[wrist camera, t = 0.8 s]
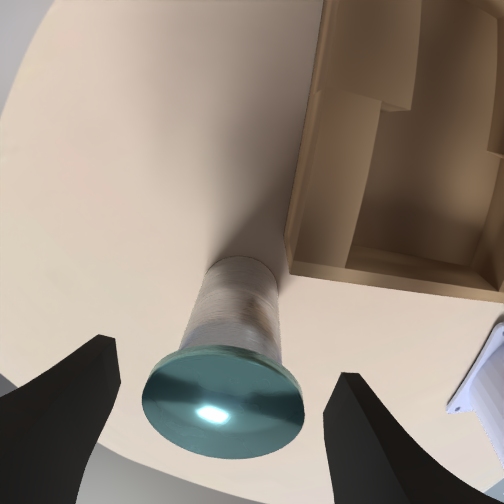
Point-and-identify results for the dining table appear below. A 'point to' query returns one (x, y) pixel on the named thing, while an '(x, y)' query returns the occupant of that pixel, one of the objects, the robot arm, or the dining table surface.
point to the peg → (228, 370)
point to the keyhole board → (404, 149)
